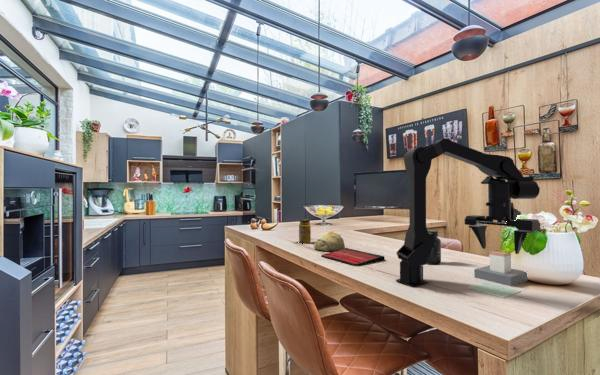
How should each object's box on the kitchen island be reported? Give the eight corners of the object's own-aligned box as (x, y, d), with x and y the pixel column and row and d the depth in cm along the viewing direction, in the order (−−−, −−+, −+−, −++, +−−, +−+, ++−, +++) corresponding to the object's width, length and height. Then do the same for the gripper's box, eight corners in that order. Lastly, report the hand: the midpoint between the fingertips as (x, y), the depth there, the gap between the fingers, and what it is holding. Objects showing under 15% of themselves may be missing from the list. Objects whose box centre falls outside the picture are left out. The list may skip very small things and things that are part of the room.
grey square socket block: (510, 287, 85) (510, 277, 85) (474, 279, 93) (474, 269, 93) (527, 281, 90) (527, 271, 90) (491, 274, 99) (491, 264, 99)
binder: (346, 247, 136) (385, 255, 119) (347, 252, 136) (385, 261, 119) (318, 253, 126) (355, 263, 109) (319, 259, 126) (356, 270, 109)
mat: (503, 300, 76) (503, 297, 76) (467, 289, 84) (467, 287, 84) (520, 293, 81) (520, 290, 81) (485, 284, 88) (485, 282, 88)
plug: (504, 281, 89) (504, 254, 89) (490, 278, 92) (489, 251, 92) (511, 279, 91) (511, 252, 91) (496, 276, 94) (496, 250, 94)
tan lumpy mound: (346, 247, 145) (346, 230, 145) (343, 253, 133) (343, 234, 133) (317, 246, 149) (317, 230, 149) (312, 251, 137) (311, 233, 137)
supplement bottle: (443, 265, 110) (442, 232, 110) (423, 264, 111) (422, 231, 111) (438, 260, 117) (438, 229, 117) (419, 260, 118) (419, 229, 118)
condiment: (314, 242, 159) (313, 219, 159) (302, 244, 153) (302, 220, 153) (304, 240, 164) (304, 218, 164) (292, 243, 158) (292, 219, 159)
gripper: (548, 199, 88) (549, 253, 88) (482, 197, 104) (482, 243, 104) (530, 200, 82) (531, 258, 82) (463, 198, 98) (463, 247, 98)
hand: (499, 251), depth 92 cm, fingers open, 9 cm apart
